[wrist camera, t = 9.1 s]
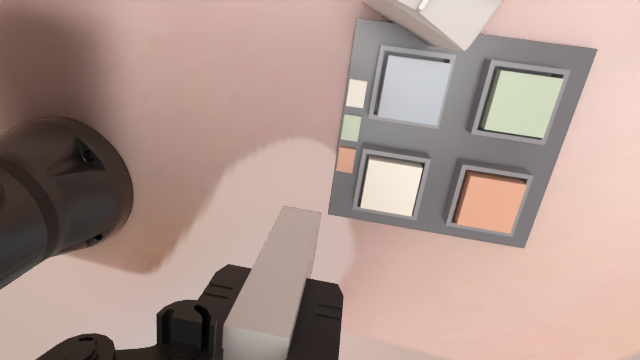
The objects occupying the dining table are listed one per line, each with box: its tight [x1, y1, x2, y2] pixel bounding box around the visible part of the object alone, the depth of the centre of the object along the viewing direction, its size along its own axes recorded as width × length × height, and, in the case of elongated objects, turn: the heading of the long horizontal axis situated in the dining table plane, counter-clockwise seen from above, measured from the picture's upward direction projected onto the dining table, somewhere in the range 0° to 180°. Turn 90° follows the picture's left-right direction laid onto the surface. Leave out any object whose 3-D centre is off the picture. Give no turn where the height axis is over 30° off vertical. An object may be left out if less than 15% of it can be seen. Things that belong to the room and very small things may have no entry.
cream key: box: [360, 154, 423, 216], centre depth 35 cm, size 5×5×2 cm
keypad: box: [328, 18, 597, 248], centre depth 34 cm, size 20×19×3 cm
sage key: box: [479, 69, 564, 138], centre depth 31 cm, size 5×5×2 cm
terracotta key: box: [453, 169, 527, 233], centre depth 34 cm, size 5×5×2 cm
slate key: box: [377, 55, 452, 126], centre depth 30 cm, size 5×5×2 cm
